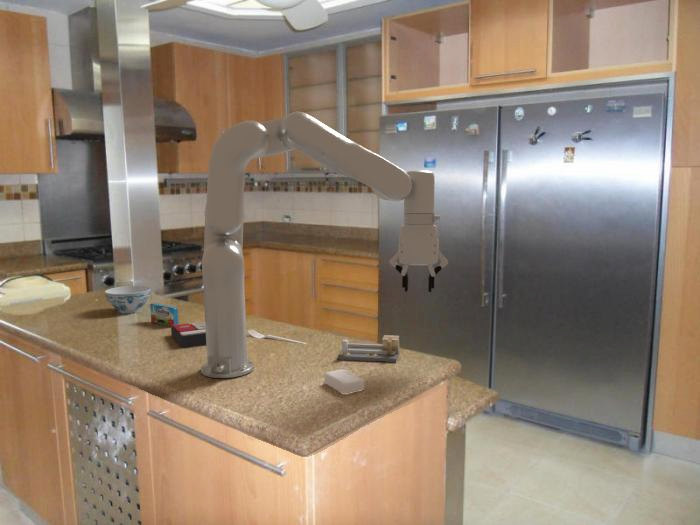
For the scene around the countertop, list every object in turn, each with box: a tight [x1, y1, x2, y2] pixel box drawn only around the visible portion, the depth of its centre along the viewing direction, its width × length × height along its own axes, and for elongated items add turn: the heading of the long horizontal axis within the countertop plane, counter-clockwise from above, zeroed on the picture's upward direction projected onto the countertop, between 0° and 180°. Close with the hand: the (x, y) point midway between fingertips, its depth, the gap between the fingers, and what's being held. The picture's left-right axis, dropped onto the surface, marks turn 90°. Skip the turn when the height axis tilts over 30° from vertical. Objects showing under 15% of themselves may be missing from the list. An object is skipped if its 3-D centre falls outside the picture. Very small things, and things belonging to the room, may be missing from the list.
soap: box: [323, 368, 365, 393], centre depth 130 cm, size 9×6×3 cm, turn 33°
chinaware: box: [104, 285, 152, 314], centre depth 205 cm, size 15×15×8 cm
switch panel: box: [337, 339, 400, 363], centre depth 152 cm, size 9×15×4 cm, turn 80°
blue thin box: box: [149, 302, 179, 327], centre depth 187 cm, size 12×2×6 cm, turn 54°
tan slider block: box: [381, 334, 400, 355], centre depth 151 cm, size 7×4×4 cm, turn 170°
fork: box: [247, 328, 307, 345], centre depth 169 cm, size 3×20×2 cm, turn 61°
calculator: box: [170, 321, 206, 349], centre depth 169 cm, size 11×4×15 cm
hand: (418, 290), depth 149 cm, fingers open, 5 cm apart
